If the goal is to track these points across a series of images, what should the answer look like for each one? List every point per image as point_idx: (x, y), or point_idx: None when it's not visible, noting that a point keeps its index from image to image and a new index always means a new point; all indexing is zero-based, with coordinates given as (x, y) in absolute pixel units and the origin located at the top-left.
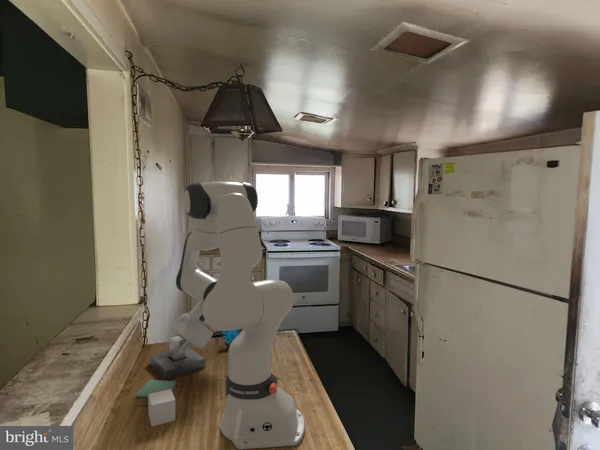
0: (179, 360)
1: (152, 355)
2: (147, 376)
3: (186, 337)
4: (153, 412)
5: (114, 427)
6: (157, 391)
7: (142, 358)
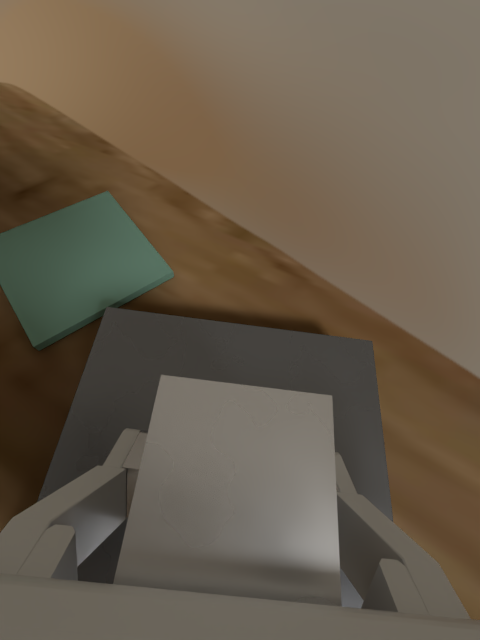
0: None
1: (371, 357)
2: (227, 292)
3: (5, 612)
4: None
5: (22, 111)
6: (50, 243)
7: (441, 367)
